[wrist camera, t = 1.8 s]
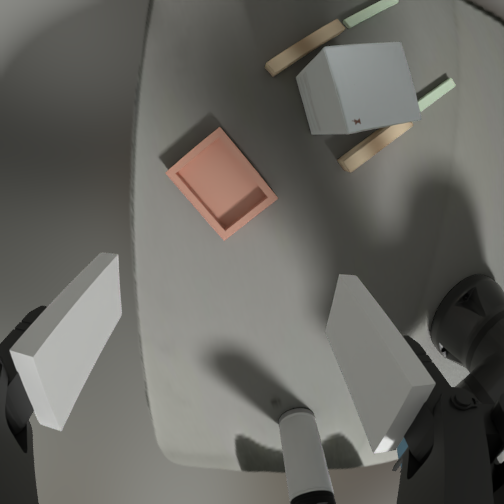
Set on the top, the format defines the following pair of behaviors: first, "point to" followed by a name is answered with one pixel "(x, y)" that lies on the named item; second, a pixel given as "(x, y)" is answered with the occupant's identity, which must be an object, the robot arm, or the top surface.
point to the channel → (373, 141)
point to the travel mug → (304, 459)
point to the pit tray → (221, 184)
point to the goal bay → (385, 3)
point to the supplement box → (358, 88)
